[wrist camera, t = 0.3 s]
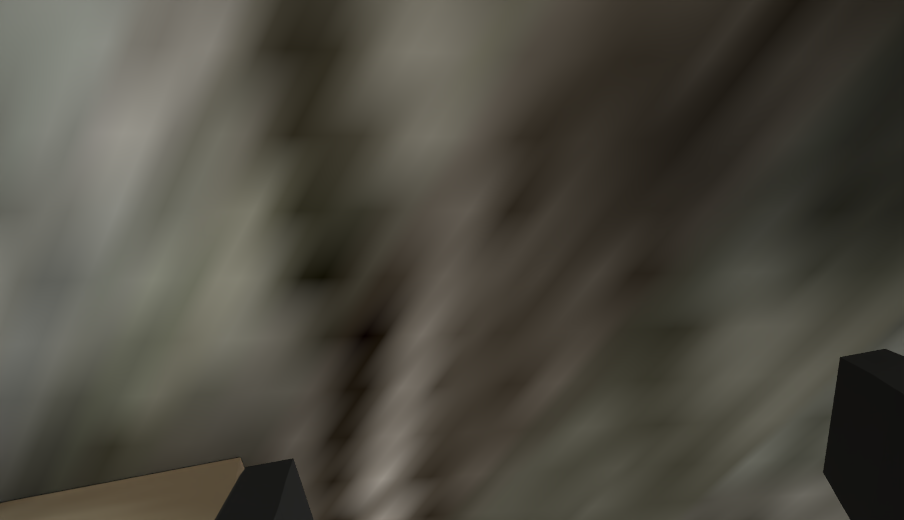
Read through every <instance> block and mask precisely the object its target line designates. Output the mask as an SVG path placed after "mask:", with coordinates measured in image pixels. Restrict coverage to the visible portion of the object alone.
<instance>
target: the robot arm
mask: <svg viewBox="0 0 904 520" xmlns="http://www.w3.org/2000/svg"><path fill="white" fill-rule="evenodd" d="M823 473H824V475H825V476H826V478H827V480H828V482H829V483H830V485H831V487H832V489H833V490H834V492H835V494H836V496H837V497H838V499H839V501H840V503H841V504H842V506H843V508H844V510H845V511H846V513H847V515H848V516H849V518H850V520H904V356H902V355H899V354H897V353H894V352H892V351H890V350H887V349H882V350H876V351H871V352H865V353H860V354H855V355H849V356H844V357H840V362H839V368H838V375H837V382H836V389H835V395H834V402H833V409H832V416H831V423H830V429H829V436H828V443H827V450H826V456H825V463H824V470H823ZM215 520H313V517H312V514H311V511H310V508H309V505H308V502H307V499H306V496H305V492H304V489H303V486H302V483H301V480H300V477H299V474H298V471H297V468H296V465H295V462H294V459H288V460H282V461H277V462H271V463H266V464H261V465H255V466H250V467H246V468H245V469H244V470H243V472H242V473H241V474H240V476H239V477H238V479H237V481H236V483H235V484H234V486H233V488H232V490H231V492H230V493H229V495H228V497H227V499H226V500H225V502H224V504H223V506H222V507H221V509H220V511H219V513H218V515H217V516H216V518H215Z"/></svg>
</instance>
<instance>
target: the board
mask: <svg viewBox="0 0 904 520" xmlns="http://www.w3.org/2000/svg"><path fill="white" fill-rule="evenodd" d="M244 469H245V468H244V466H243V463H242V461H241V458H240V457H239V458H234V459H229V460H224V461H218V462H213V463H208V464H203V465H197V466H192V467H187V468H181V469H176V470H171V471H166V472H160V473H155V474H150V475H145V476H139V477H134V478H129V479H124V480H118V481H113V482H108V483H103V484H97V485H92V486H87V487H82V488H76V489H71V490H66V491H61V492H55V493H50V494H45V495H40V496H34V497H29V498H24V499H19V500H13V501H8V502H3V503H0V520H215V518H216V516H217V515H218V513H219V511H220V509H221V507H222V506H223V504H224V502H225V500H226V499H227V497H228V495H229V493H230V492H231V490H232V488H233V486H234V484H235V483H236V481H237V479H238V477H239V476H240V474H241V473H242V472H243V470H244Z"/></svg>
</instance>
